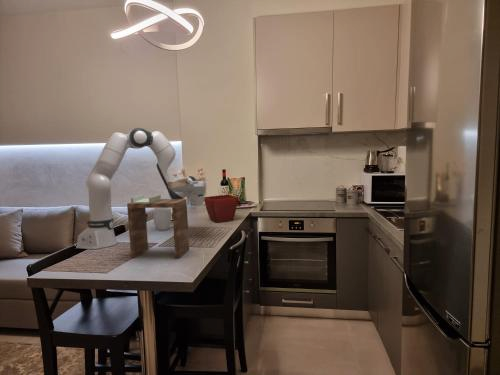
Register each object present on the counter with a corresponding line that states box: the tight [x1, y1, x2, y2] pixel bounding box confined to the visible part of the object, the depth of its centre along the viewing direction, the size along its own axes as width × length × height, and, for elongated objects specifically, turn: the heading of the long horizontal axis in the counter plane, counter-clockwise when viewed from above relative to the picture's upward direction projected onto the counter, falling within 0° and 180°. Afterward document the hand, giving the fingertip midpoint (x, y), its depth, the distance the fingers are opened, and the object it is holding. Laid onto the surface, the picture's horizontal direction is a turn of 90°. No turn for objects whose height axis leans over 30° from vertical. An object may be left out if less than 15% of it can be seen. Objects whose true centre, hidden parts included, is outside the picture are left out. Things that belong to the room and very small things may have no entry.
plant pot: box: [204, 194, 239, 224], centre depth 245 cm, size 19×19×17 cm
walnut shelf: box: [126, 198, 190, 260], centre depth 168 cm, size 24×14×26 cm, turn 81°
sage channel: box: [130, 194, 162, 203], centre depth 168 cm, size 10×11×2 cm
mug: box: [152, 208, 173, 232], centre depth 224 cm, size 15×11×13 cm
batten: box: [168, 177, 189, 188], centre depth 179 cm, size 3×22×3 cm, turn 171°
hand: (183, 180), depth 185 cm, fingers closed on batten, 3 cm apart
